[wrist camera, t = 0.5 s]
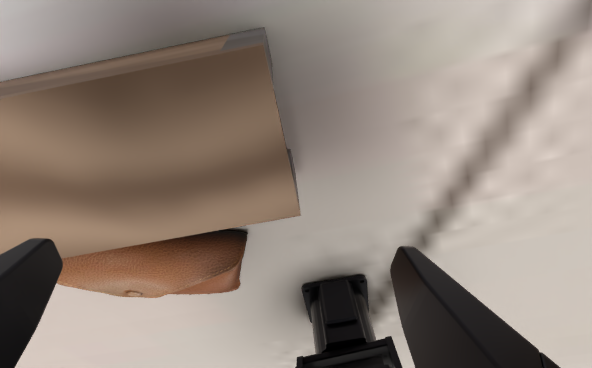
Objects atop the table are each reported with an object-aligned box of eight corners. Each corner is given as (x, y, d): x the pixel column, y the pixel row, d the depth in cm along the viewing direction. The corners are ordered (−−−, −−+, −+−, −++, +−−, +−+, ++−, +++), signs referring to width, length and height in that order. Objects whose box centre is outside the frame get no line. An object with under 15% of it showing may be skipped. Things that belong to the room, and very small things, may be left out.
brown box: (295, 172, 23) (300, 215, 19) (-64, 238, 24) (-131, 292, 20) (264, 27, 17) (263, 44, 13) (-203, 123, 19) (-336, 167, 15)
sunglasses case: (46, 285, 28) (-17, 323, 22) (49, 209, 28) (-14, 224, 21) (244, 290, 31) (241, 324, 24) (249, 220, 30) (248, 237, 24)
